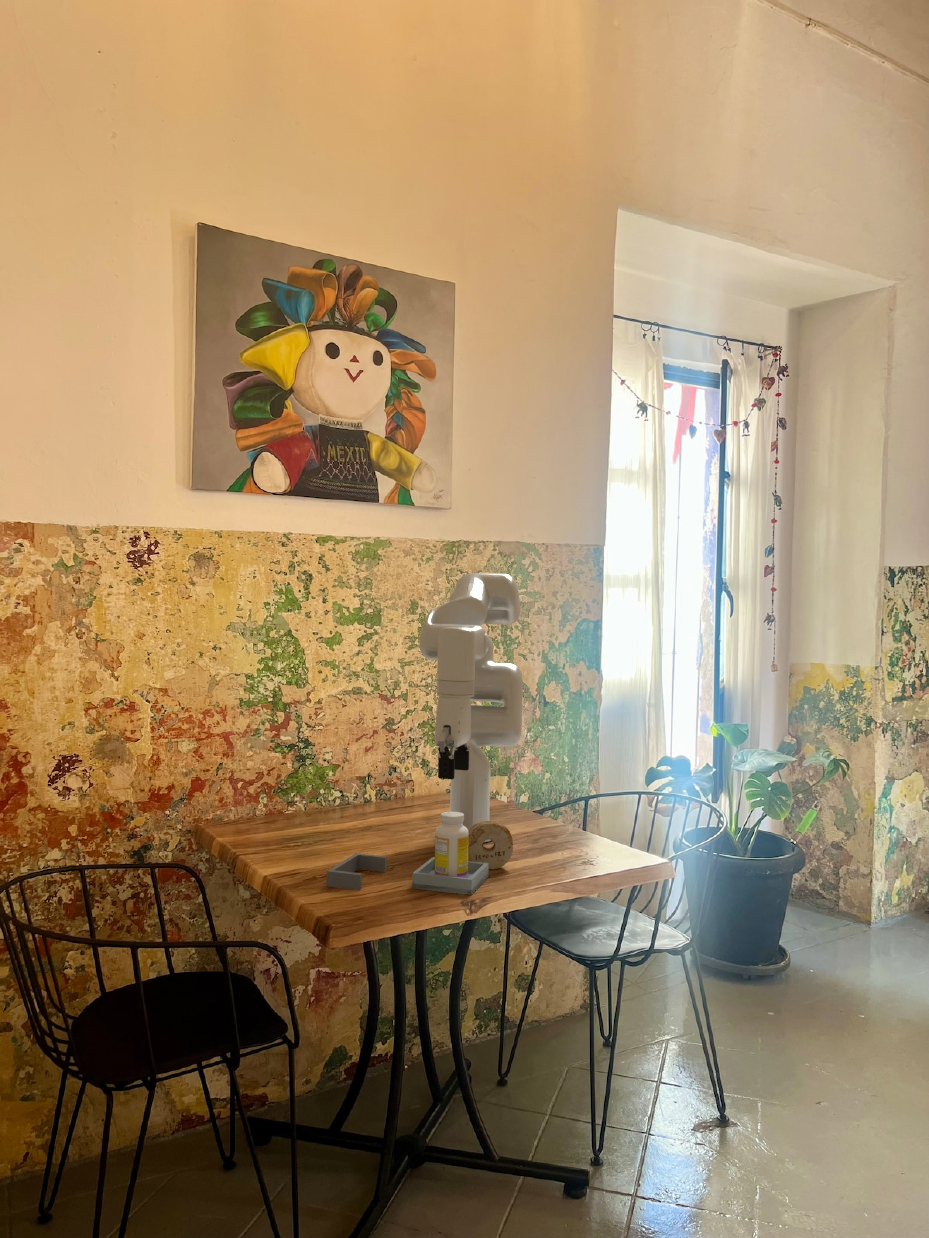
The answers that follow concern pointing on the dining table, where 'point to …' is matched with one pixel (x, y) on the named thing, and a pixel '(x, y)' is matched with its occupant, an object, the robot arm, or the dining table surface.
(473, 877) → the tray
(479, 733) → the robot arm
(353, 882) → the bay
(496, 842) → the stone disc
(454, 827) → the supplement bottle
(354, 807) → the dining table surface
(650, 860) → the dining table surface
